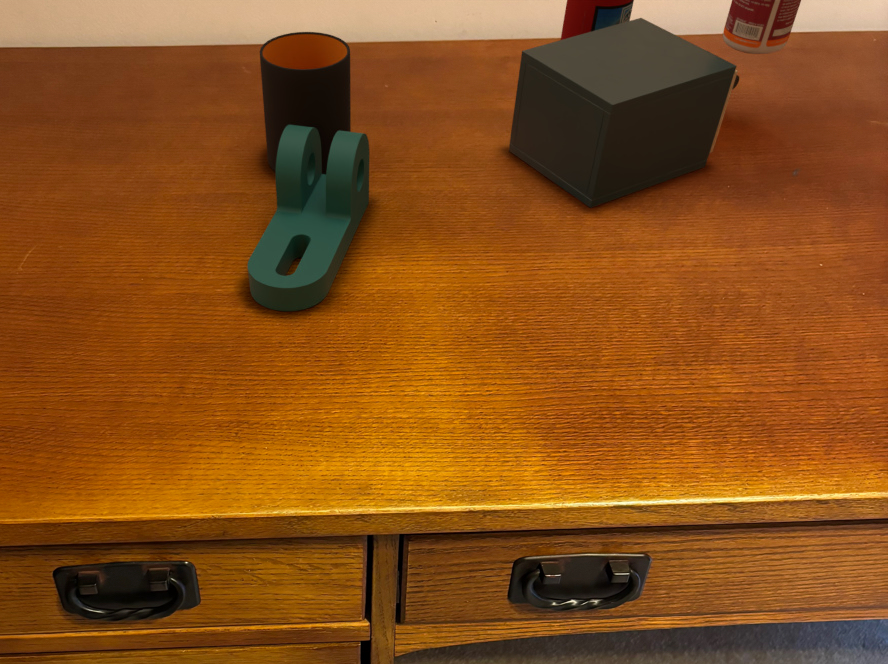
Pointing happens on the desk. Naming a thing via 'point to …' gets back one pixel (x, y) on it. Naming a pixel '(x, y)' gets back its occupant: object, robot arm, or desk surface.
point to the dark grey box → (618, 109)
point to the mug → (305, 88)
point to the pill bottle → (760, 25)
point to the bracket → (310, 218)
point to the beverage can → (594, 15)
